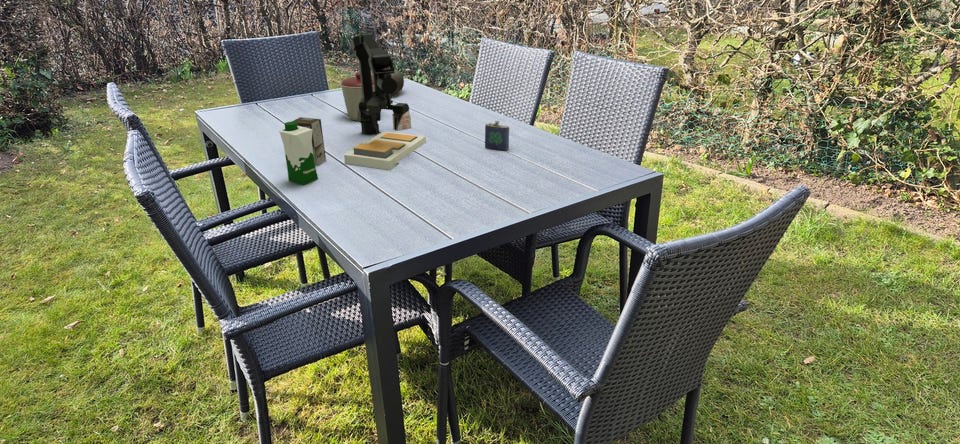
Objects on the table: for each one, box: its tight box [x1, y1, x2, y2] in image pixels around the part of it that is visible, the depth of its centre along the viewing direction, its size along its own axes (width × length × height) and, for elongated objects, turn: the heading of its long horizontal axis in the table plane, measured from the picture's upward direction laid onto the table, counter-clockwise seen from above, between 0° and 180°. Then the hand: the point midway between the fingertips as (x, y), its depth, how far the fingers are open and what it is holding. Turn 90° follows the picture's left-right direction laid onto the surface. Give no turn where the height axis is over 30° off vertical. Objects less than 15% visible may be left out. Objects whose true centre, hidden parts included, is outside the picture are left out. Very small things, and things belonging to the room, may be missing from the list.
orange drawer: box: [369, 140, 405, 150], centre depth 223 cm, size 13×6×3 cm, turn 69°
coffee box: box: [291, 116, 327, 167], centre depth 212 cm, size 9×6×16 cm
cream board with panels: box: [343, 131, 427, 171], centre depth 224 cm, size 23×30×3 cm
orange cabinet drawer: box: [381, 132, 418, 142], centre depth 231 cm, size 13×6×3 cm, turn 69°
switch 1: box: [352, 142, 393, 159], centre depth 213 cm, size 13×6×3 cm, turn 69°
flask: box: [484, 120, 510, 152], centre depth 226 cm, size 10×3×12 cm, turn 68°
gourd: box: [357, 67, 405, 96], centre depth 303 cm, size 25×25×17 cm
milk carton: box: [279, 121, 319, 186], centre depth 195 cm, size 9×9×20 cm
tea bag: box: [392, 110, 412, 132], centre depth 247 cm, size 4×7×10 cm, turn 124°
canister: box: [339, 71, 375, 122], centre depth 262 cm, size 18×18×21 cm
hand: (385, 128), depth 219 cm, fingers open, 9 cm apart
